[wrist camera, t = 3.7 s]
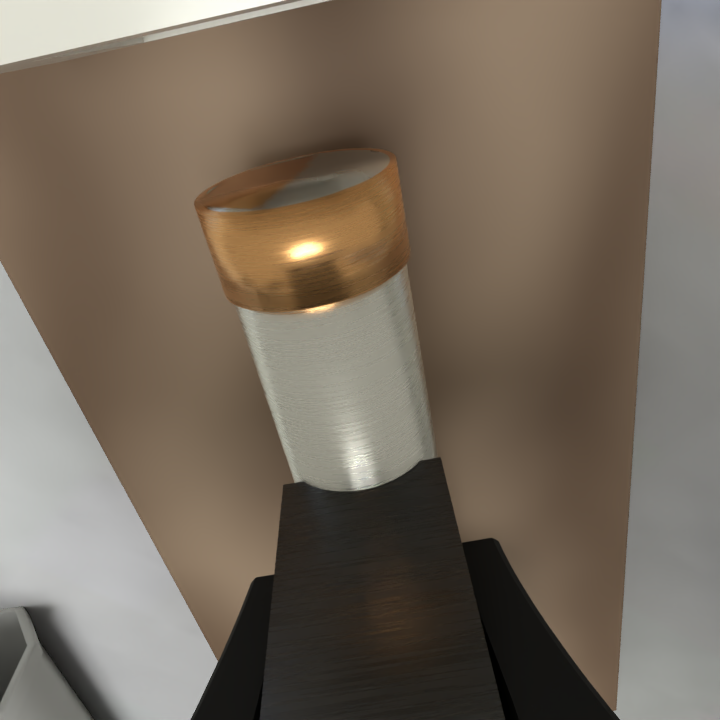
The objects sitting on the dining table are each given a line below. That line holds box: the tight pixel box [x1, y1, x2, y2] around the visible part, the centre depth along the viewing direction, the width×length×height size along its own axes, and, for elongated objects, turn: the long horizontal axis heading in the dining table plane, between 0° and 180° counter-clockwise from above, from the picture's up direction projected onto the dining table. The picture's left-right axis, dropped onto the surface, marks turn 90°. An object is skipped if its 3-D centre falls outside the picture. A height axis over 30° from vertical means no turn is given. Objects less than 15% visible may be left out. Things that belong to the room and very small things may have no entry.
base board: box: [0, 0, 662, 711], centre depth 16 cm, size 14×32×1 cm, turn 11°
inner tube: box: [194, 148, 505, 720], centre depth 12 cm, size 3×19×8 cm, turn 11°
